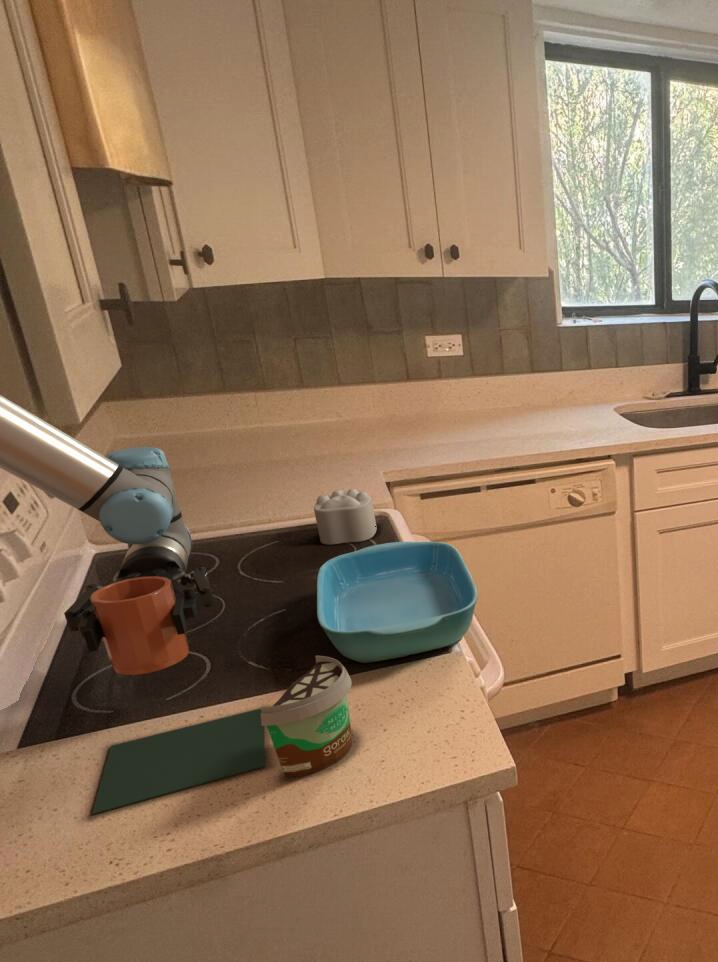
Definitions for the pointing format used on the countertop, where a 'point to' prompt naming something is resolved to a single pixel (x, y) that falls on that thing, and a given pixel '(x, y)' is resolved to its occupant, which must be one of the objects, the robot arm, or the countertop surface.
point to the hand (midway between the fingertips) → (135, 632)
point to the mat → (181, 760)
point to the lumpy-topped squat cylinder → (345, 517)
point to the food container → (312, 719)
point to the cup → (139, 625)
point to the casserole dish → (395, 600)
